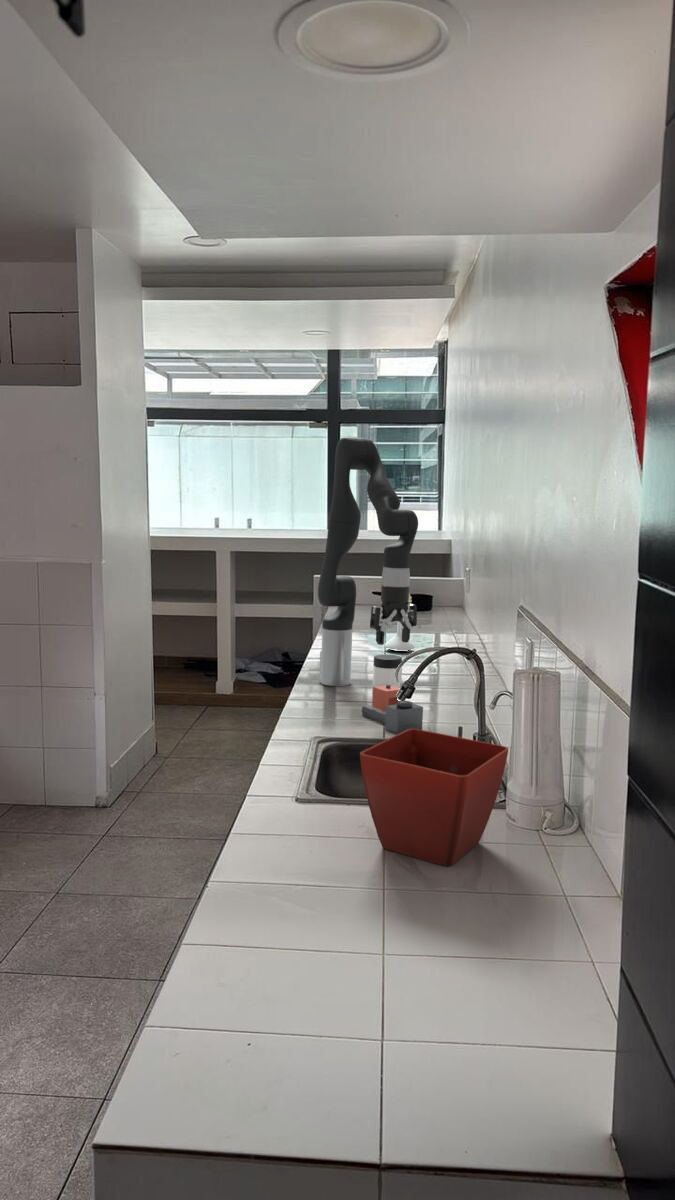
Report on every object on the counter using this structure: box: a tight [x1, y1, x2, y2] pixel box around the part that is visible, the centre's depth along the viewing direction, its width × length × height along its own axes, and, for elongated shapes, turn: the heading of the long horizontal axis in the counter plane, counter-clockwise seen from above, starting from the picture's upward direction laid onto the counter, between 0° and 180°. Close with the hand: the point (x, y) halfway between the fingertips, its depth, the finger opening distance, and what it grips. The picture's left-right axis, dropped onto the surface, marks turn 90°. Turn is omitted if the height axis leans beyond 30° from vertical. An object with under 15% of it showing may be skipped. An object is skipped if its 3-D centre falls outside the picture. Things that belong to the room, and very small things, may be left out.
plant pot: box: [359, 729, 509, 867], centre depth 146 cm, size 19×19×17 cm
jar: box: [371, 653, 403, 696], centre depth 252 cm, size 9×8×12 cm
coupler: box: [361, 700, 424, 735], centre depth 224 cm, size 19×8×7 cm, turn 34°
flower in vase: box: [383, 593, 415, 651], centre depth 327 cm, size 13×11×25 cm
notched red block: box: [371, 685, 399, 711], centre depth 239 cm, size 6×6×7 cm
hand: (392, 643), depth 237 cm, fingers open, 8 cm apart
